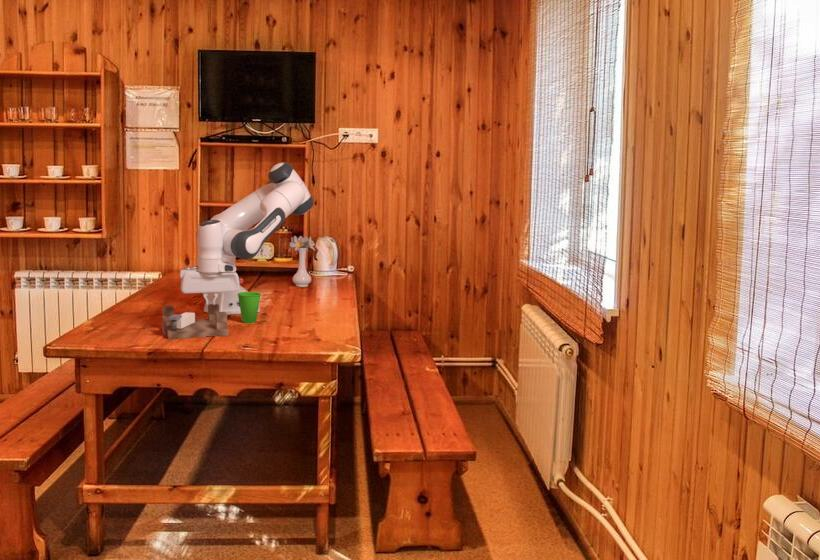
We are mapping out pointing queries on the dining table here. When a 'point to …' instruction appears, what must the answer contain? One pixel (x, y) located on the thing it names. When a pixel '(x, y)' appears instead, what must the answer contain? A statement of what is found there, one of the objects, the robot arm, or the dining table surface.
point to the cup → (249, 306)
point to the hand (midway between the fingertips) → (210, 304)
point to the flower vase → (302, 260)
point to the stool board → (196, 324)
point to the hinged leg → (183, 319)
